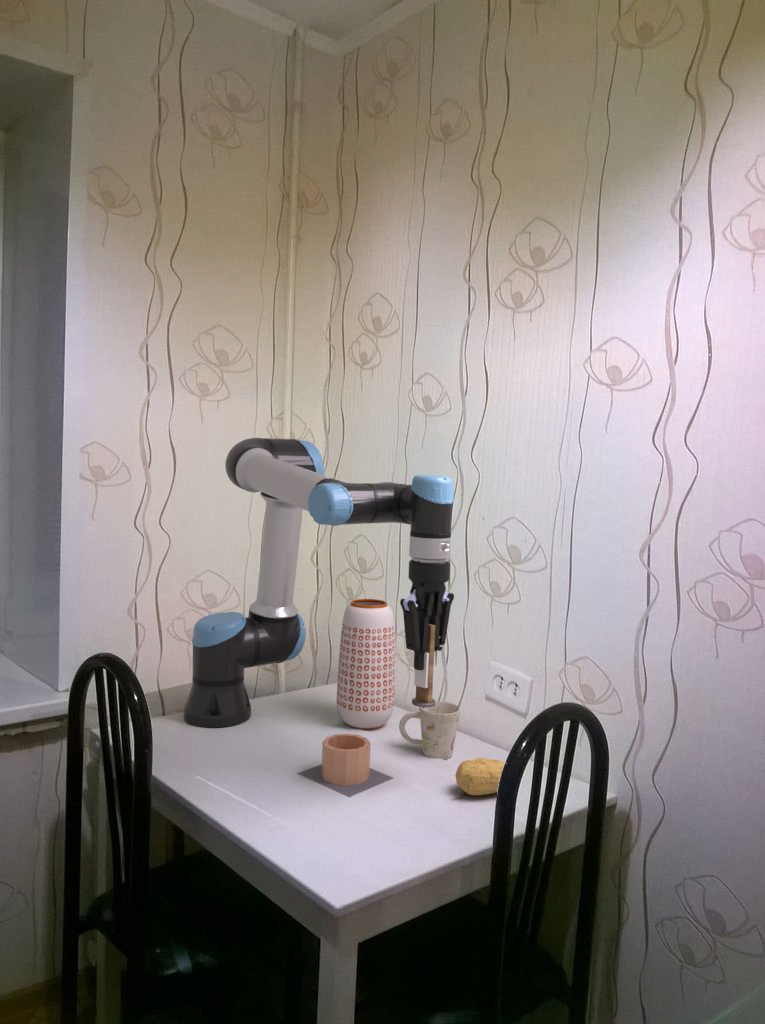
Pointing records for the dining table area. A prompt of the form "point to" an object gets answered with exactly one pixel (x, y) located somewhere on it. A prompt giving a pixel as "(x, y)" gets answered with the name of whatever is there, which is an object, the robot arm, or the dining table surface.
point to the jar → (345, 759)
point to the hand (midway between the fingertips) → (424, 685)
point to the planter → (366, 665)
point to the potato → (479, 775)
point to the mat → (350, 790)
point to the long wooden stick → (425, 694)
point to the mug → (435, 728)
